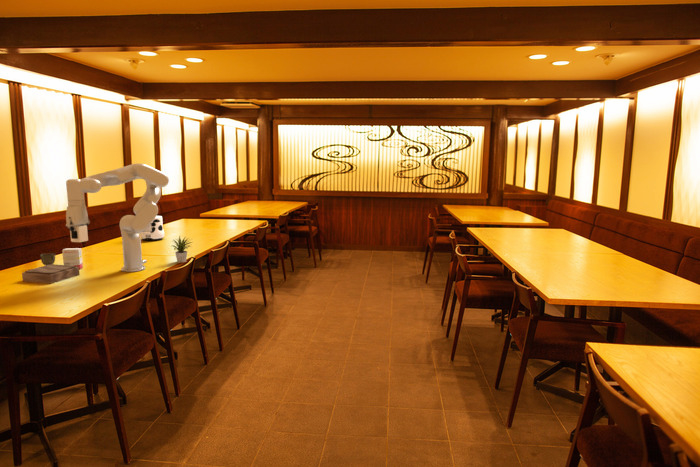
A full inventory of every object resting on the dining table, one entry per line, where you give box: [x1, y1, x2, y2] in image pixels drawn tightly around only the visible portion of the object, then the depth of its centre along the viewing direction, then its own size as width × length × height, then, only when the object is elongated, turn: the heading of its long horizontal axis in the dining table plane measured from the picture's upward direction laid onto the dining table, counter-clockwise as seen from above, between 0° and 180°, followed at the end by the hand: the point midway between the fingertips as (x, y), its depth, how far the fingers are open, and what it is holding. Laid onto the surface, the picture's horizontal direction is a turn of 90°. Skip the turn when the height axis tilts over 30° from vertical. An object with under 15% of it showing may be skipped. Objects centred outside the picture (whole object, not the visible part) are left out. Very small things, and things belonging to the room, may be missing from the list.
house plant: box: [171, 235, 194, 264], centre depth 281 cm, size 14×14×16 cm
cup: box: [39, 252, 56, 266], centre depth 265 cm, size 8×7×8 cm
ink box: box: [61, 247, 84, 270], centre depth 262 cm, size 9×5×12 cm, turn 102°
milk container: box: [140, 215, 165, 241], centre depth 354 cm, size 17×17×18 cm
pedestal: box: [21, 263, 80, 285], centre depth 242 cm, size 18×18×5 cm
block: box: [69, 225, 89, 243], centre depth 238 cm, size 6×6×8 cm
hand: (79, 237), depth 239 cm, fingers closed on block, 5 cm apart
